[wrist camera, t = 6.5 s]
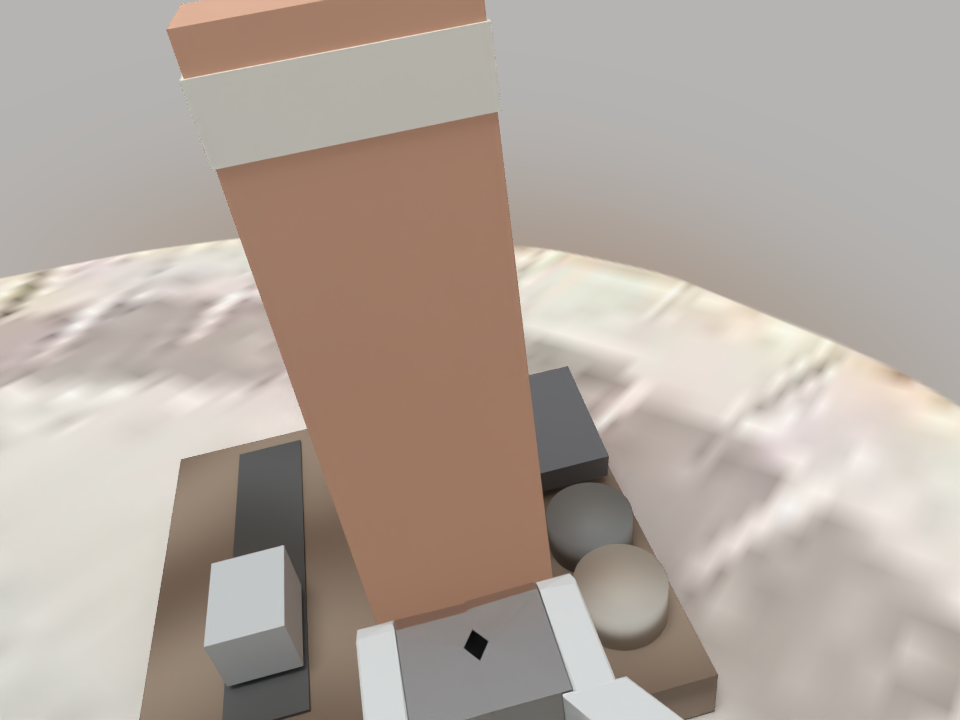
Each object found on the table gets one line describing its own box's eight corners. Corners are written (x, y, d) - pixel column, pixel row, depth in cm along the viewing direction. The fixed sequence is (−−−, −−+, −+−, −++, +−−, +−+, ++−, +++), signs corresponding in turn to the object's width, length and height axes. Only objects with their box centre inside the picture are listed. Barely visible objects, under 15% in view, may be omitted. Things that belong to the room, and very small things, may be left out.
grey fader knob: (303, 665, 18) (284, 625, 17) (227, 686, 18) (203, 646, 17) (300, 585, 20) (283, 544, 19) (232, 603, 20) (211, 563, 19)
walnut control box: (714, 710, 18) (720, 645, 16) (147, 877, 16) (95, 824, 15) (559, 400, 27) (553, 341, 26) (197, 489, 26) (169, 432, 24)
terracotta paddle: (560, 624, 18) (485, -29, 10) (390, 671, 17) (161, 31, 9) (538, 562, 19) (457, -47, 11) (381, 604, 19) (178, 4, 11)
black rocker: (607, 475, 22) (608, 456, 21) (526, 496, 21) (525, 477, 21) (568, 385, 24) (567, 366, 23) (494, 403, 24) (493, 384, 23)
